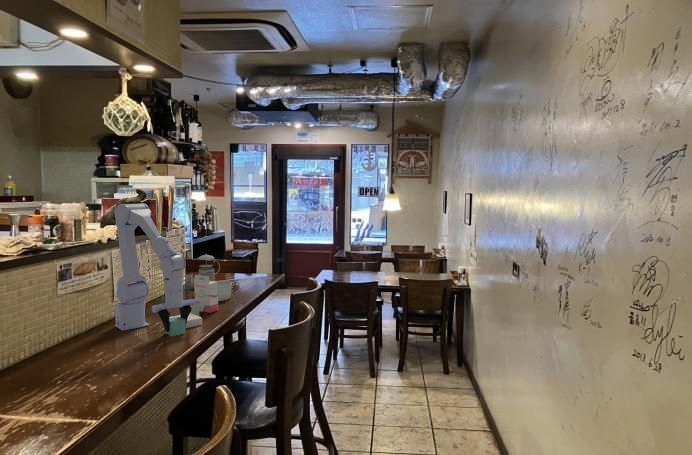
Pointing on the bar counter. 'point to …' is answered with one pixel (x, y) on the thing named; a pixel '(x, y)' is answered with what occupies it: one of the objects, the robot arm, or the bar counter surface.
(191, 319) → the cream slab
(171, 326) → the teal cube
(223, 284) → the ramekin
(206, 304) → the ink cartridge box
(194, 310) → the sage block
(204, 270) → the french press
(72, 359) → the bar counter surface
